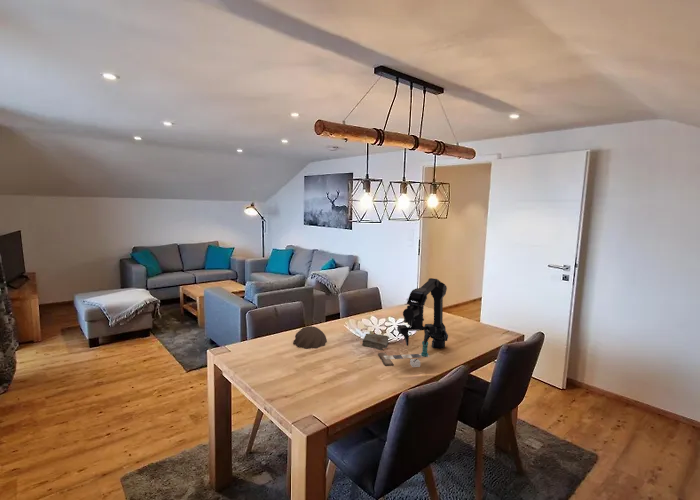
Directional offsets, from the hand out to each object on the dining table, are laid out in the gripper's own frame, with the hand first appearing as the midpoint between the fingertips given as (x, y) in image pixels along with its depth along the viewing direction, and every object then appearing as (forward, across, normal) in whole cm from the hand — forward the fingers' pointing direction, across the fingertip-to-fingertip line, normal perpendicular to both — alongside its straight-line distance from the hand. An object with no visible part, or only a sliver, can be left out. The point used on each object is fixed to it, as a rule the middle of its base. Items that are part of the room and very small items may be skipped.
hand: (415, 345), depth 189 cm
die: (+12, 0, 0) cm, 12 cm away
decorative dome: (+12, +50, -41) cm, 66 cm away
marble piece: (+13, +12, -33) cm, 37 cm away
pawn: (+11, -10, -11) cm, 18 cm away
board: (+12, 0, -11) cm, 16 cm away
